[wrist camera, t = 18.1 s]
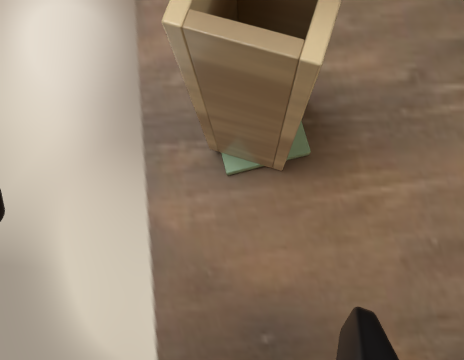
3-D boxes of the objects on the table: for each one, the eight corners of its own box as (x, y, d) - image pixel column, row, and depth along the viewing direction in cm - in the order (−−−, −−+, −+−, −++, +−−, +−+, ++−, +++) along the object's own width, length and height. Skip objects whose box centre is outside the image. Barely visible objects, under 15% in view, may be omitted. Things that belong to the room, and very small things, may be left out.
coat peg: (227, 175, 23) (222, 161, 19) (207, 98, 24) (200, 71, 20) (309, 154, 23) (319, 136, 19) (286, 78, 24) (292, 48, 20)
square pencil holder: (282, 171, 22) (322, 65, 10) (209, 149, 22) (159, 21, 10) (305, 95, 23) (369, -90, 11) (234, 75, 23) (217, -125, 11)
